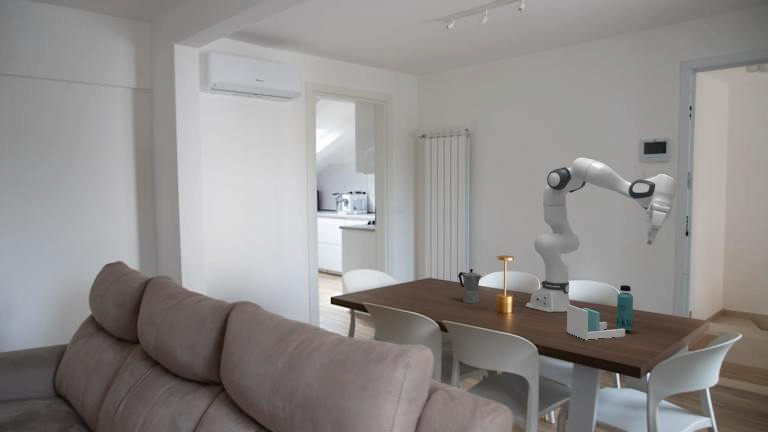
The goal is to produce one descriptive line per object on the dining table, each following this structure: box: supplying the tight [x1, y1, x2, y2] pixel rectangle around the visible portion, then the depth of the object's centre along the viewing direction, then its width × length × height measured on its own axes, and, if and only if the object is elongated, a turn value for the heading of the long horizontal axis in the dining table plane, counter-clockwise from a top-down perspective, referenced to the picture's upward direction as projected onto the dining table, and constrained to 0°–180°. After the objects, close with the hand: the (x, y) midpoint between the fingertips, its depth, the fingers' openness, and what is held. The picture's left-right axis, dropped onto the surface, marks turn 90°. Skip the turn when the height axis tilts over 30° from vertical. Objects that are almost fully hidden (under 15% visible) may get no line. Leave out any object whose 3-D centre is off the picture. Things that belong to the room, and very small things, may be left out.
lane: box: [566, 304, 626, 341], centre depth 222 cm, size 19×12×12 cm, turn 105°
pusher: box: [582, 307, 601, 332], centre depth 222 cm, size 2×9×10 cm, turn 15°
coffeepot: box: [457, 268, 482, 304], centre depth 288 cm, size 15×9×18 cm, turn 44°
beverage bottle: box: [615, 284, 634, 331], centre depth 226 cm, size 6×7×20 cm
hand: (650, 242), depth 221 cm, fingers open, 8 cm apart
